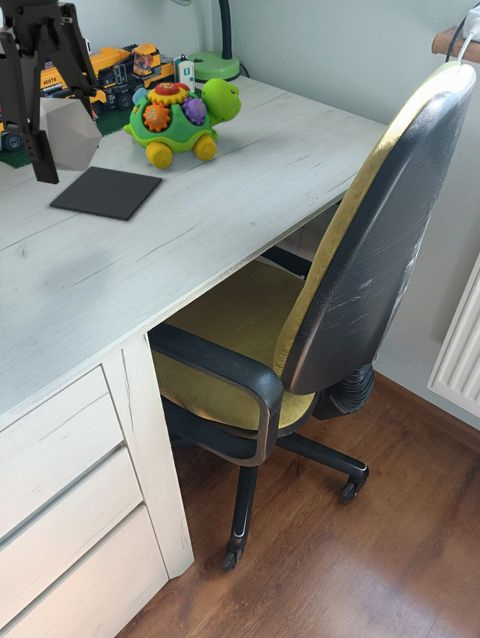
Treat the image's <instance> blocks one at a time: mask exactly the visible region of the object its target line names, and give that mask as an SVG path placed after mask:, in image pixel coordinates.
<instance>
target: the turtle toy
mask: <svg viewBox="0 0 480 638" xmlns="http://www.w3.org/2000/svg"><path fill="white" fill-rule="evenodd" d="M239 95H240V89H239V88H238V86H236V85H235V84H233V83H230V82H228V81H226V80H225V79H223V78H218V77H214V78H211V79H209V80H207V81H206V82H205V83H204V85H203V87H202V90H201V99H200V98H199V96H198V95H196V93H194V92H192V91H191V88H190V87H189V86H188V85H187V84H186V83H183V82H176V83H174V82H163V81H162V82H160V83H158V84H157V85H156V87H154V88H153V89H148V90H147V89H146V88H144V87H140V88H138V89H137V90H136V91H135V93H134V94H133V96H132V102H133V104H134V107H133V109H132V111H131V113H130V116H129V123H128V124H125V125H124V126H123V131H124V132H125V133H126V134H128V135H129V136H131V137H132V139H133V140H134V142H136V143H137V144H138V145H139V146H141V147H142V149H144V150H146V151H145V154H146V158H147V160H148V162H149V163H151V165H152V166H153V167H155V168H156V169H160V170H163V169H166V168H168V167H169V166H171V165H172V162H173V160H174V157H173V155H174V154H181V153H186V152H189V151H192V153H193V154H194V155H195V156H196V158H197V159H199V160H200V161H203V162H208V161H211V160H212V159H214V158H215V156H216V155H217V152H218V147H217V144H216V142H215V141H218V139H219V135H218V132H217V130H216V129H214V128H213V127H215V126H217V125H220V124H222V123H227V122H229V121H232V120H234V119H235V118H236V116H238V115H239V113H240V111H241V109H242V100H241V99H240V97H239Z"/></svg>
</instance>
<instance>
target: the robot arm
mask: <svg viewBox="0 0 480 638" xmlns="http://www.w3.org/2000/svg"><path fill="white" fill-rule="evenodd" d="M0 10H1V15H2V27H0V116H1V120H2V121H1V123H2V128H3V130H4V131H3V132H5V133H9V134H15V135H19V136H20V138H21V140H22V144H23V146H24V150H25V153H26V157H27V158H28V160H29V161H30V162H31V166H32V170H33V172H34V176H35V179H36V182H40V183H44V184H51V185H55V186H57V185H58V184H59V183H60V178H59V174H58V170H56V167H55V163H54V160H53V156H52V152H51V149H50V145H49V141H48V138H47V134H46V131H45V130H40V97H41V95H42V93H41V88H42V85H41V84H42V71H43V70H45V68H46V59H47V58H48V57H49V59H50V61H51V62H52V64H53V66H54V67H55V69H56V71H57V73H58V74H59V75H60V77H61V79H62V81H63V82H64V84H65V85H66V87H67V89H68V90H69V92H70V93H71V94H72V95H70V96H68V97H67V99H79V100H80V101H81V103H82V104H83V106H84V107H85V109H86V111H87V112H88V114H89V115H90V117H91V119H92V120H93V122H94V123H95V120H94V119H95V118H94V112H93V108H92V103H91V98H97V95H98V90H97V88H95V87H97V85H98V78H97V76H96V72H95V69H94V67H93V64H92V60H91V57H90V55H89V52H88V49H87V46H86V43H85V40H84V37H83V35H82V31H81V28H80V25H79V20H78V14H77V7H76V5H75V4H74V3H73V2H66V1H60V0H0ZM23 56H25V57H23ZM28 119H29V121H30V122H28ZM99 148H100V145H98V147H97V149H96V150H98V149H99Z"/></svg>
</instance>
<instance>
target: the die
mask: <svg viewBox="0 0 480 638" xmlns="http://www.w3.org/2000/svg"><path fill="white" fill-rule="evenodd" d="M28 122H30V121H29V119H28ZM40 130H45V131H46V134H47V138H48V141H49V145H50V149H51V152H52V156H53V160H54V163H55V167H56V171H66V172H68V171H69V172H83V173H84V172H86V171H87V169H89V168H90V164H91V162H92V160H93V158H94V155H95V153H96V151H97V150H98V149H97V147H98V145H99V144H100V143H101V140H102V139H103V135H102V133H101V132H100V130H99V128H98V127H97V125H96V124H95V121H94V122H93V120H92V119H91V117H90V115H89V114H88V112H87V111H86V109H85V107H84V106H83V104H82V103H81V101H80V100H79V99H68V98H58V97H41V96H40ZM99 146H100V145H99Z"/></svg>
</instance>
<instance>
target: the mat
mask: <svg viewBox="0 0 480 638" xmlns="http://www.w3.org/2000/svg"><path fill="white" fill-rule="evenodd" d="M162 182H163V178H162V177H158V176H152V175H147V174H140V173H135V172H129V171H122V170H116V169H111V168H106V167H99V166H93V165H91V166H89V167H88V169H87V171H86V172H83V173H81V175H80V176H78V177H77V178H76V179H75V180H74V181H73V182H72V183H71V184H70V185H69V186H67V187H66V188H65V189H64V190H63V191H62V192H61V193H60V194H58V196H56V197H55V198H54V199H53V200H52V201H51V202H49V207H50V208H56V209H62V210H67V211H71V212H78V213H82V214H89V215H94V216H97V217H98V216H100V217H104V218H110V219H115V220H120V221H125V222H128V221H129V220H130V219H131V218H132V216H133V215H134V214H135V213H136V211H137V210H139V208H140V207H141V206H142V205H143V204H144V203H145V201H146V200H147V199H148V198H149V196H151V195H152V193H153V192H154V191H155V190H156V188H157V187H158V186H159V185H160V184H161V183H162Z"/></svg>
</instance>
